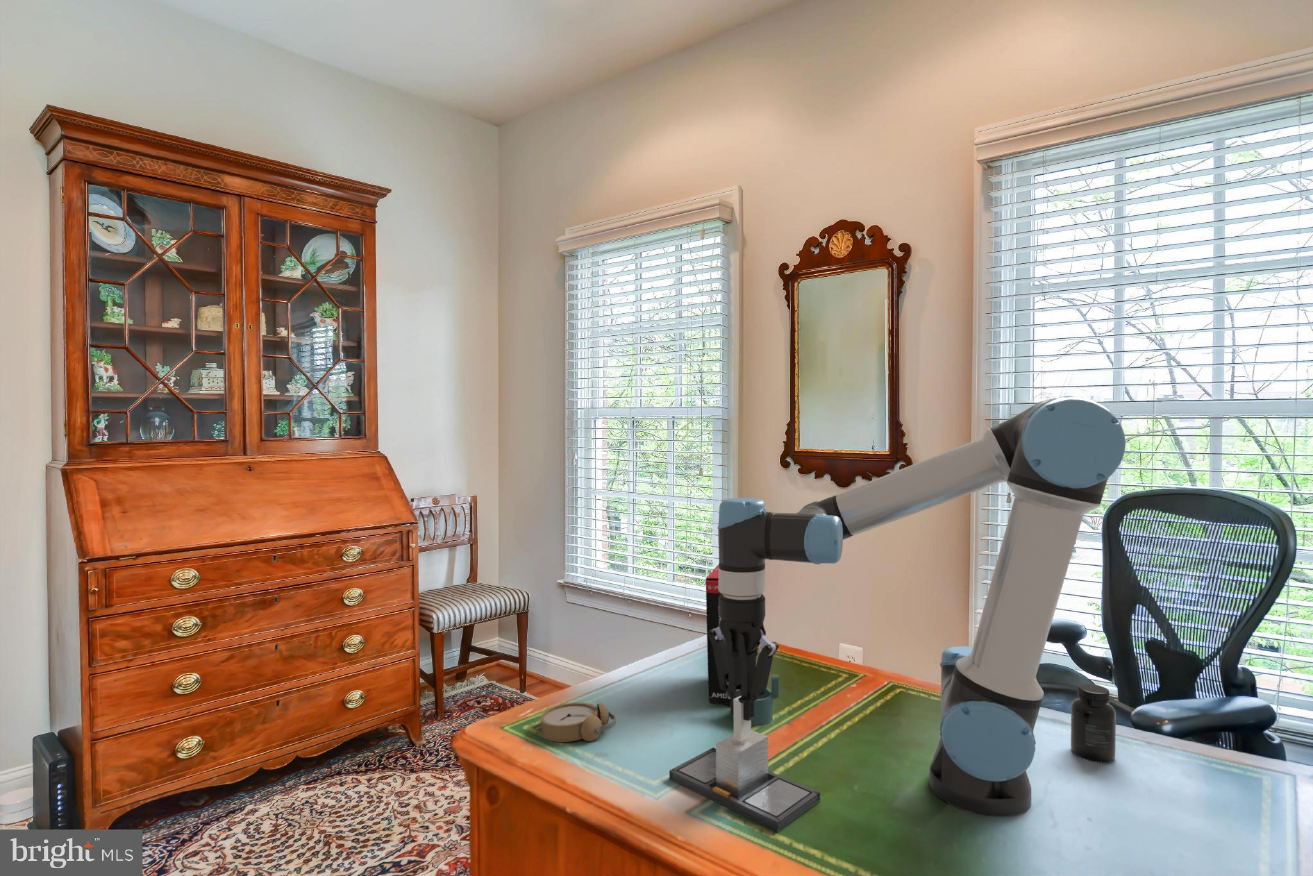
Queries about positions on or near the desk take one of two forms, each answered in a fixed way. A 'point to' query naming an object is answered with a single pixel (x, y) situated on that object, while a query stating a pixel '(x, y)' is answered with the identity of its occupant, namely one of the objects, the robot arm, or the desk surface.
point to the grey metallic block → (742, 764)
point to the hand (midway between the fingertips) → (742, 737)
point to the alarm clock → (575, 722)
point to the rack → (763, 805)
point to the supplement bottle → (1093, 724)
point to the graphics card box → (712, 622)
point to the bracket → (765, 704)
